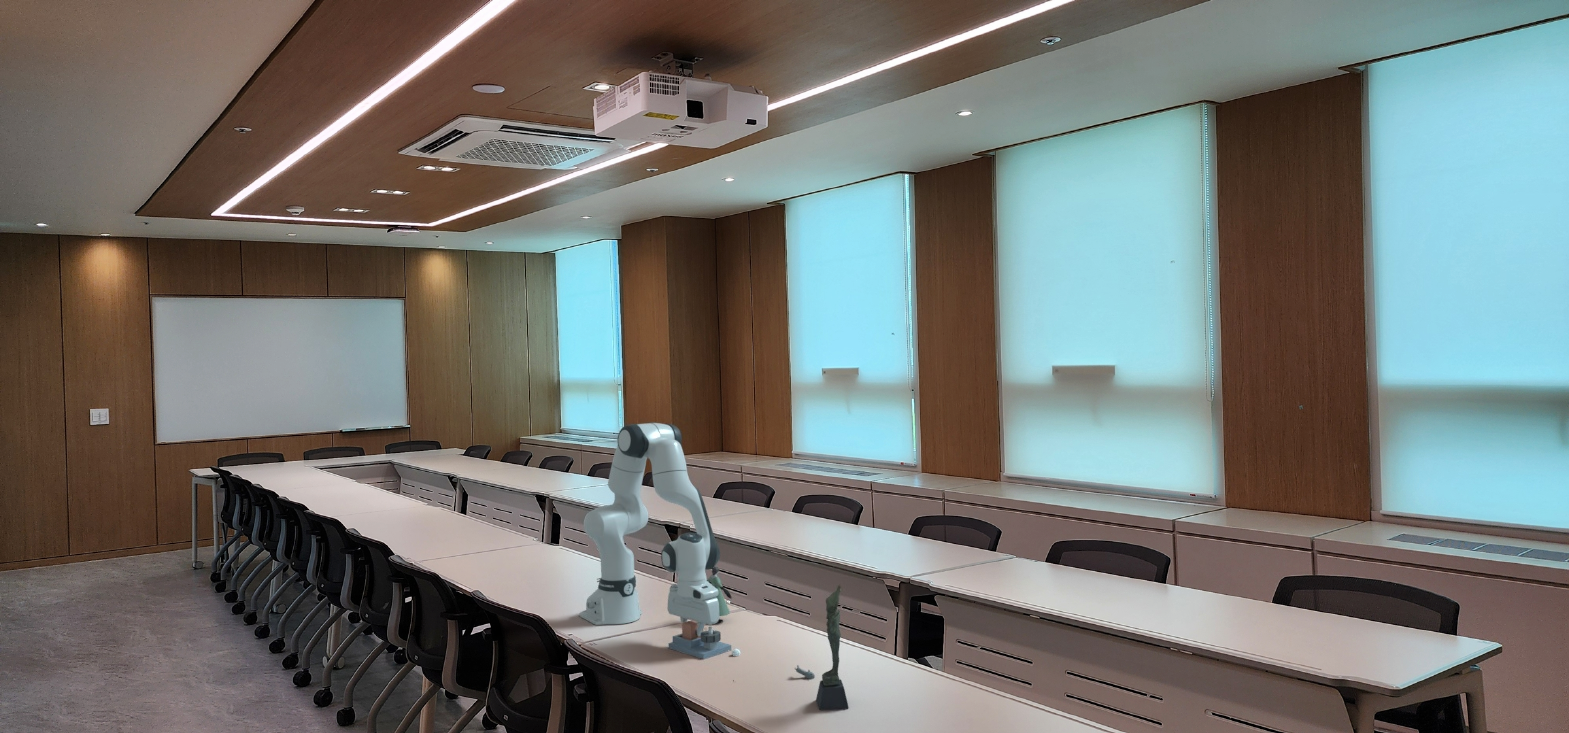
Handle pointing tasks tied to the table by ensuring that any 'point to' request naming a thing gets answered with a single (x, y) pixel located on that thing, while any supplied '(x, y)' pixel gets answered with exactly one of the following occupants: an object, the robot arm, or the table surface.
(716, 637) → the wheel
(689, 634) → the brown small block
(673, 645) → the chassis
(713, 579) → the character figurine
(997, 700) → the table surface
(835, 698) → the statue
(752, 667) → the table surface
